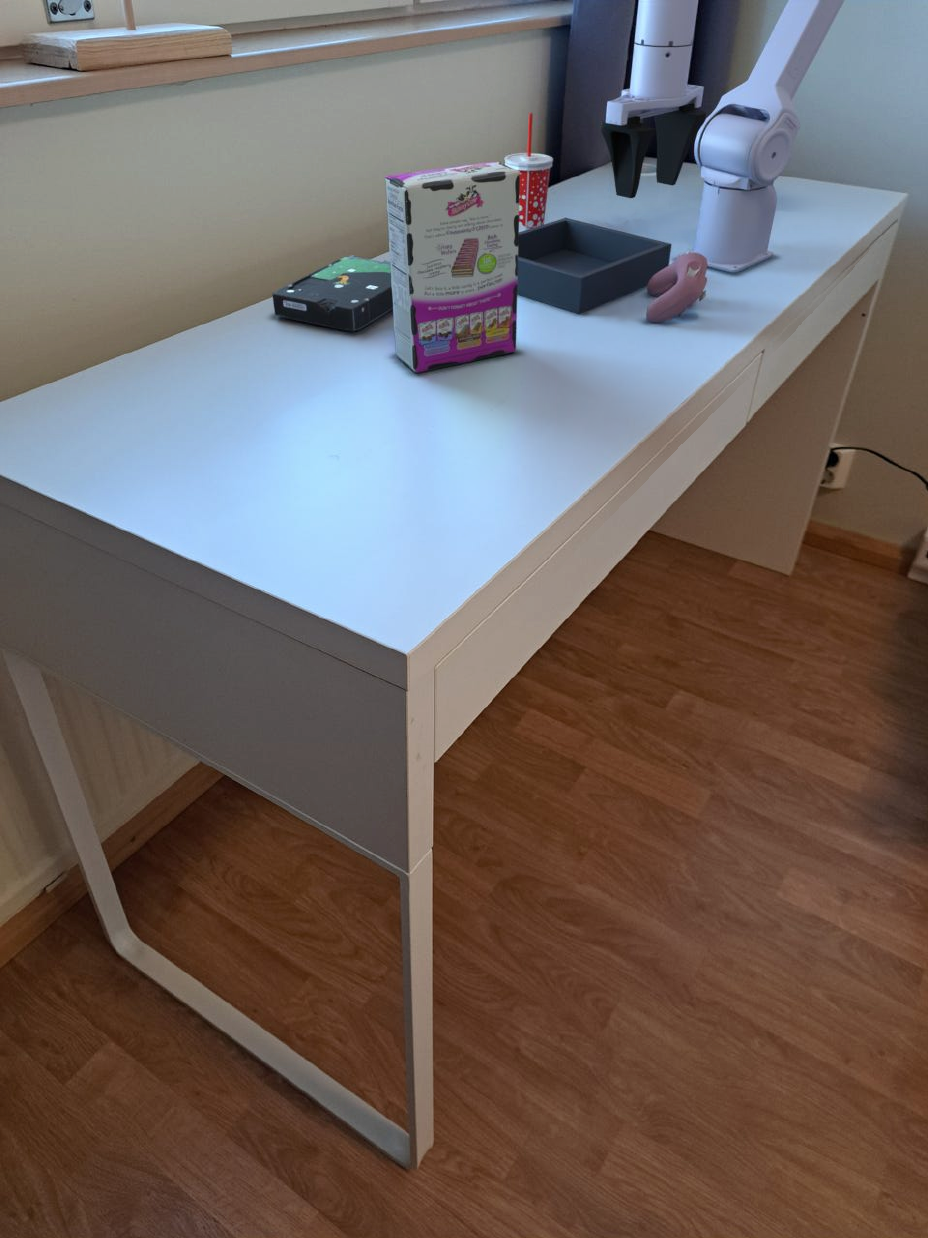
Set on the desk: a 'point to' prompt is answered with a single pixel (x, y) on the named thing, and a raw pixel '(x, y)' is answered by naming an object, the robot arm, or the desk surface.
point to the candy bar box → (454, 263)
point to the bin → (585, 263)
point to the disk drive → (339, 294)
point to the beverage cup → (531, 183)
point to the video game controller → (677, 287)
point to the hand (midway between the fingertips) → (646, 189)
